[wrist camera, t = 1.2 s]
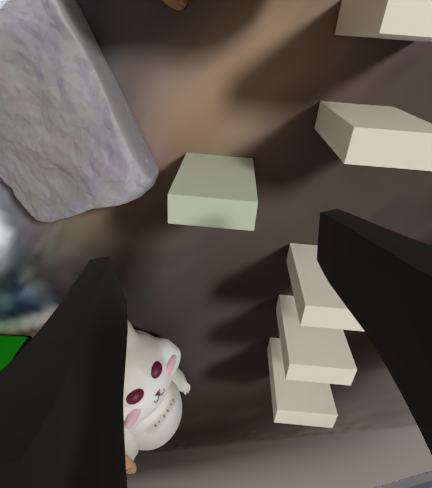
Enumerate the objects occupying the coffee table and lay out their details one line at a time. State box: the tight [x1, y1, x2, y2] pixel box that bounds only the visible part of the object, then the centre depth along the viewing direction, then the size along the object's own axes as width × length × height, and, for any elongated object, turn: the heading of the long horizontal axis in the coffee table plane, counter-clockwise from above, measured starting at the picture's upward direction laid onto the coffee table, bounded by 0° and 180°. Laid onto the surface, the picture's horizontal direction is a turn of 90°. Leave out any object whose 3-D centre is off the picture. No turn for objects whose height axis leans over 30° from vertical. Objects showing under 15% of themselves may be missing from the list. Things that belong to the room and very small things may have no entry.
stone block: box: [0, 0, 159, 222], centre depth 21 cm, size 12×5×10 cm
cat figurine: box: [123, 320, 190, 474], centre depth 30 cm, size 10×8×15 cm
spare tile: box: [168, 153, 258, 231], centre depth 20 cm, size 2×4×7 cm, turn 86°
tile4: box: [286, 243, 364, 331], centre depth 23 cm, size 2×4×7 cm, turn 86°
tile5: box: [276, 295, 357, 386], centre depth 26 cm, size 2×4×7 cm, turn 86°
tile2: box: [314, 101, 432, 171], centre depth 18 cm, size 2×4×7 cm, turn 86°
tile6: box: [267, 338, 338, 428], centre depth 28 cm, size 2×4×7 cm, turn 86°
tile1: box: [334, 0, 432, 41], centre depth 15 cm, size 2×4×7 cm, turn 86°
